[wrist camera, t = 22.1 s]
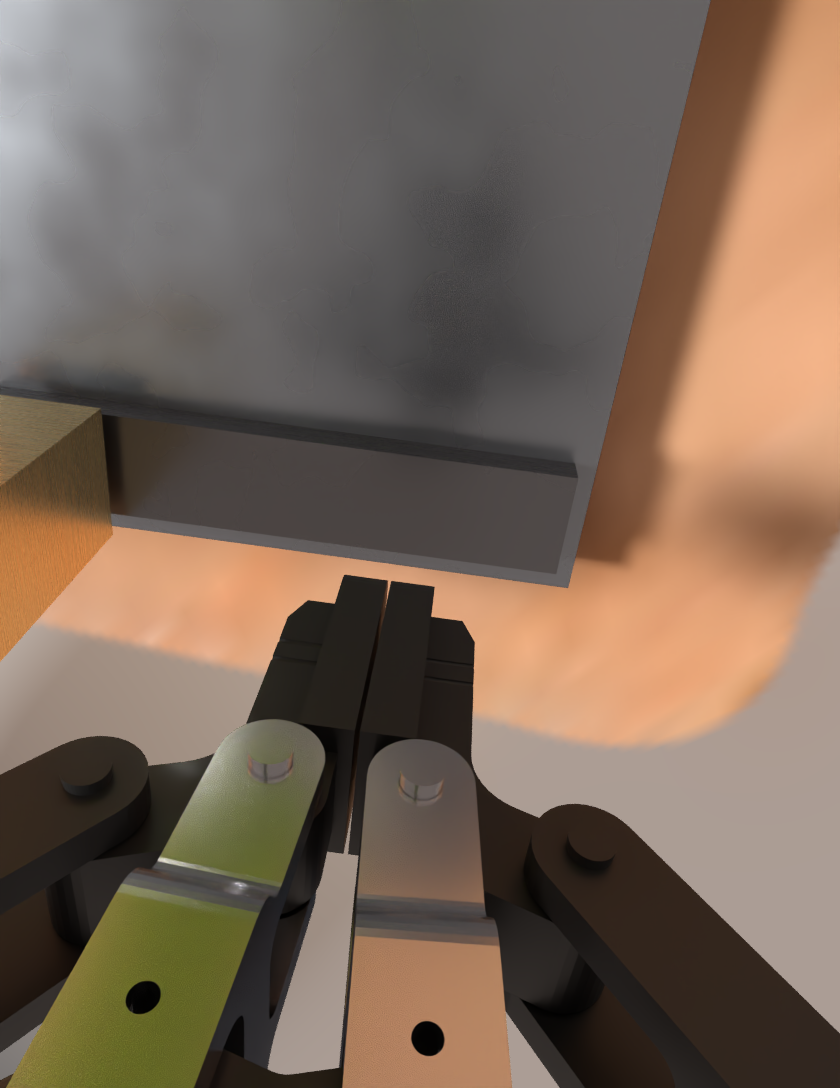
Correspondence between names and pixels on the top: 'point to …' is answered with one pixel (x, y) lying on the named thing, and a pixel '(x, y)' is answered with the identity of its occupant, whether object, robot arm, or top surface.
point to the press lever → (47, 505)
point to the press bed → (339, 258)
